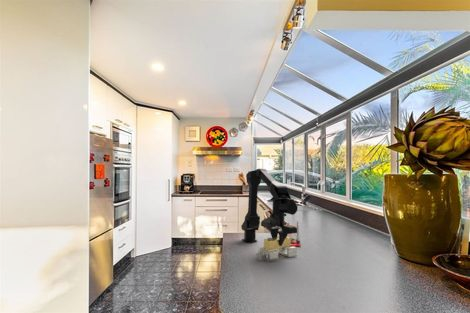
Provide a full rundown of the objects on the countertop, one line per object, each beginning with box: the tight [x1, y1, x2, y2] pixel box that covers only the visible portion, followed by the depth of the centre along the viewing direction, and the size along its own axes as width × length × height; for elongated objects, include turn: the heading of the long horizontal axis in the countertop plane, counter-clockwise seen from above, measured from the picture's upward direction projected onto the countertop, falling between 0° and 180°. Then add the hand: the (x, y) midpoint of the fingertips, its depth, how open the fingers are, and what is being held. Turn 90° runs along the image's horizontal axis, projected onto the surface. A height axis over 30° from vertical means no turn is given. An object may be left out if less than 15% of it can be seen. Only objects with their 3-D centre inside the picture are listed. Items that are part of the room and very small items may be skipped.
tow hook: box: [290, 221, 302, 247], centre depth 131 cm, size 8×13×9 cm
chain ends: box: [256, 246, 298, 263], centre depth 111 cm, size 8×23×4 cm, turn 124°
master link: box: [263, 236, 292, 251], centre depth 111 cm, size 4×14×5 cm, turn 124°
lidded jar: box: [278, 222, 297, 241], centre depth 144 cm, size 11×11×9 cm
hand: (277, 244), depth 111 cm, fingers closed on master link, 3 cm apart
